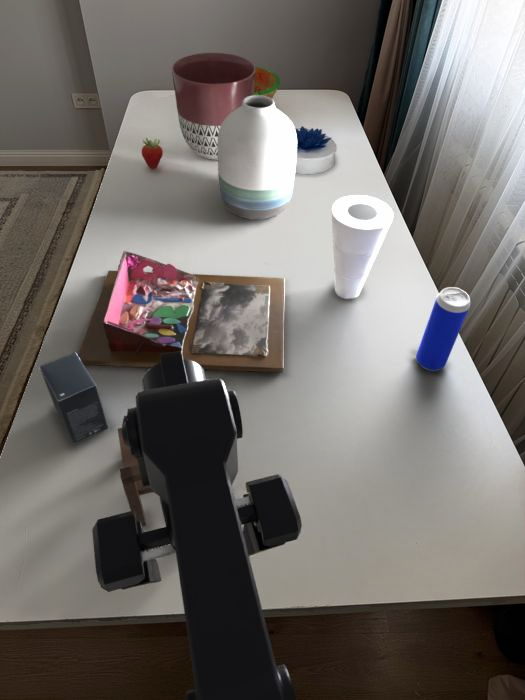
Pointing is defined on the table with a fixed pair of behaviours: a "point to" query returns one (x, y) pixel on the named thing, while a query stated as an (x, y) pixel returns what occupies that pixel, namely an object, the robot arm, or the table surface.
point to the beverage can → (443, 328)
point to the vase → (256, 159)
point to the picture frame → (186, 319)
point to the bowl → (265, 82)
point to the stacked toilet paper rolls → (357, 240)
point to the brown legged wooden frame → (132, 481)
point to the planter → (209, 95)
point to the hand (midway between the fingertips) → (202, 564)
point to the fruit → (152, 153)
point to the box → (74, 397)
